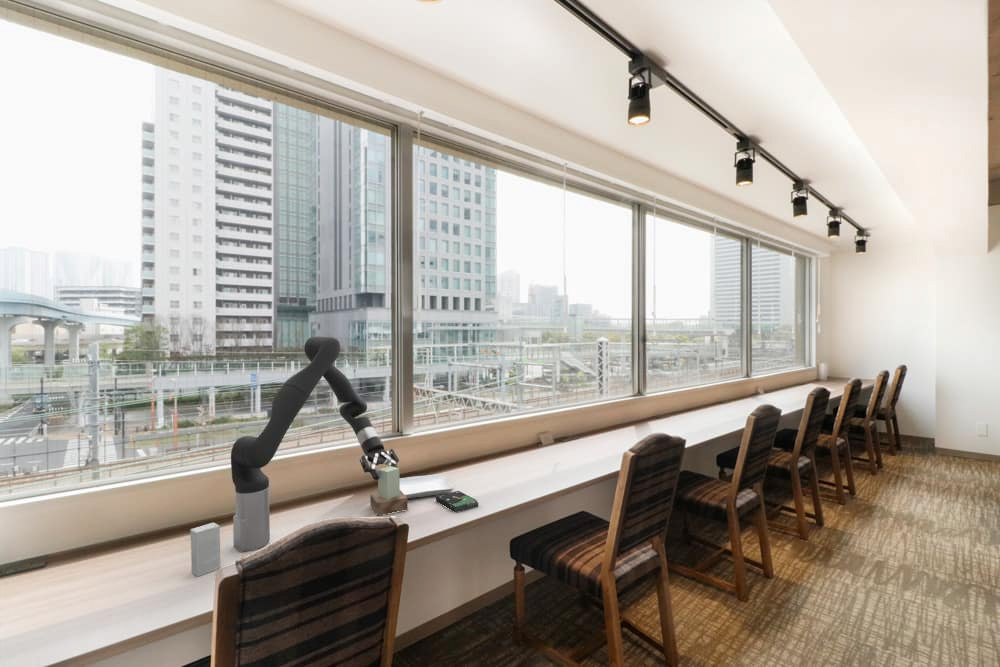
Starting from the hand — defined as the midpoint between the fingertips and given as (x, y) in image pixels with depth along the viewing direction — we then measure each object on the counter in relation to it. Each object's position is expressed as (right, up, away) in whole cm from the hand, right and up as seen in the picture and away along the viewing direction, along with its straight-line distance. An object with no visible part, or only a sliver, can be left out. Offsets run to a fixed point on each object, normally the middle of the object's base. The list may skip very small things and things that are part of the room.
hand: (387, 476), depth 175 cm
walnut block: (0, -12, 0) cm, 12 cm away
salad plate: (+10, -12, +19) cm, 25 cm away
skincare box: (-39, -12, -45) cm, 61 cm away
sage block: (+1, -7, 0) cm, 7 cm away
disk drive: (+25, -12, +3) cm, 28 cm away
